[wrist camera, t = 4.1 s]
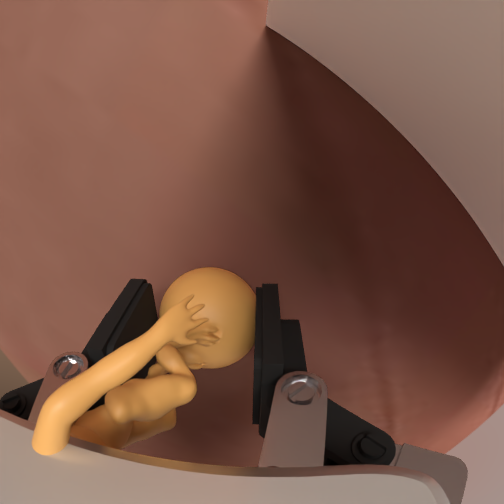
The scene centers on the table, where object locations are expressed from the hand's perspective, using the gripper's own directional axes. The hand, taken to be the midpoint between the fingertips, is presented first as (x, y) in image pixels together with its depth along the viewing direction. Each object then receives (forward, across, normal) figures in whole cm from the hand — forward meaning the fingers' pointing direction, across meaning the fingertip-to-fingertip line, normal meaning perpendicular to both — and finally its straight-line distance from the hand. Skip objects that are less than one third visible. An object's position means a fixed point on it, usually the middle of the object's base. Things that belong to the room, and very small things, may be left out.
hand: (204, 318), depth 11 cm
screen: (+3, -12, -4) cm, 13 cm away
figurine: (+3, +1, 0) cm, 3 cm away
